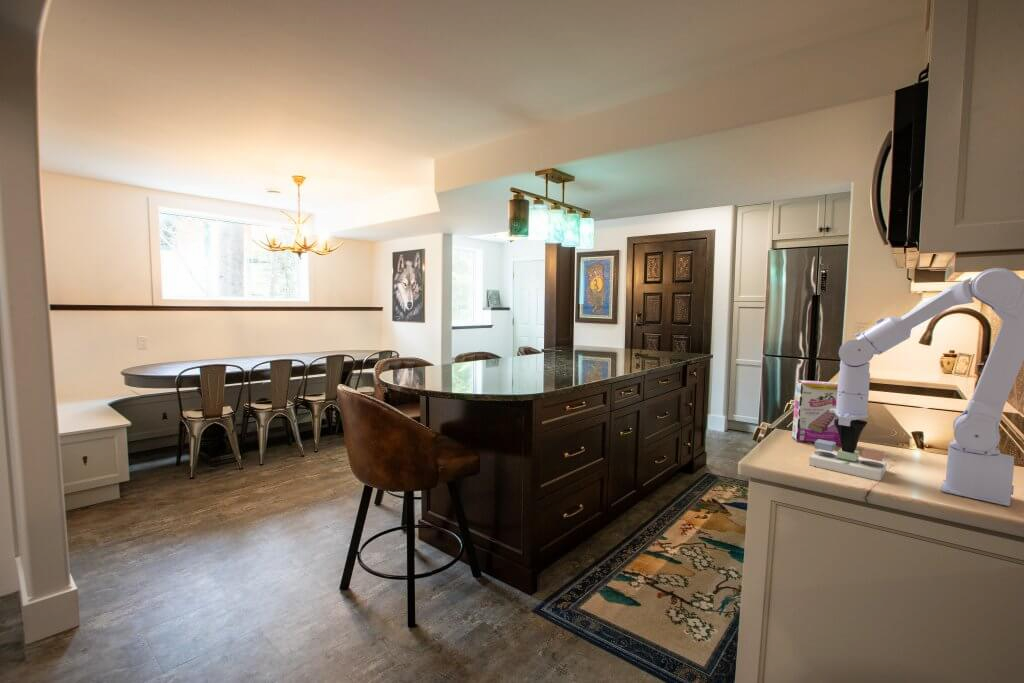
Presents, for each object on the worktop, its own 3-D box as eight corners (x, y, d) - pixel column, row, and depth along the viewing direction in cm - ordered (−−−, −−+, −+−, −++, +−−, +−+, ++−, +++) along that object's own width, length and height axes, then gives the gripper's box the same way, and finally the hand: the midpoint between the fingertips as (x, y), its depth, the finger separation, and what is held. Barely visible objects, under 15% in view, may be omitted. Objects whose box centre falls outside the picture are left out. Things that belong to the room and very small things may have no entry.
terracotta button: (884, 457, 104) (884, 451, 103) (881, 461, 101) (882, 454, 101) (864, 454, 106) (865, 447, 106) (861, 457, 104) (862, 450, 103)
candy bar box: (796, 442, 127) (800, 382, 125) (791, 437, 131) (795, 379, 130) (844, 446, 124) (849, 385, 122) (837, 441, 128) (841, 382, 127)
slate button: (835, 448, 110) (835, 442, 110) (832, 451, 107) (832, 445, 107) (818, 445, 112) (818, 439, 112) (814, 448, 110) (814, 441, 110)
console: (886, 470, 106) (886, 461, 105) (879, 480, 99) (880, 470, 99) (818, 456, 115) (819, 447, 115) (809, 465, 108) (809, 455, 108)
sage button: (858, 458, 107) (859, 451, 107) (855, 461, 104) (856, 454, 104) (840, 454, 109) (840, 448, 109) (836, 457, 107) (837, 451, 107)
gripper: (838, 386, 113) (834, 441, 115) (824, 393, 103) (819, 454, 104) (875, 390, 109) (870, 448, 110) (863, 398, 98) (858, 462, 99)
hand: (848, 451), depth 107 cm, fingers closed, pressing on sage button
